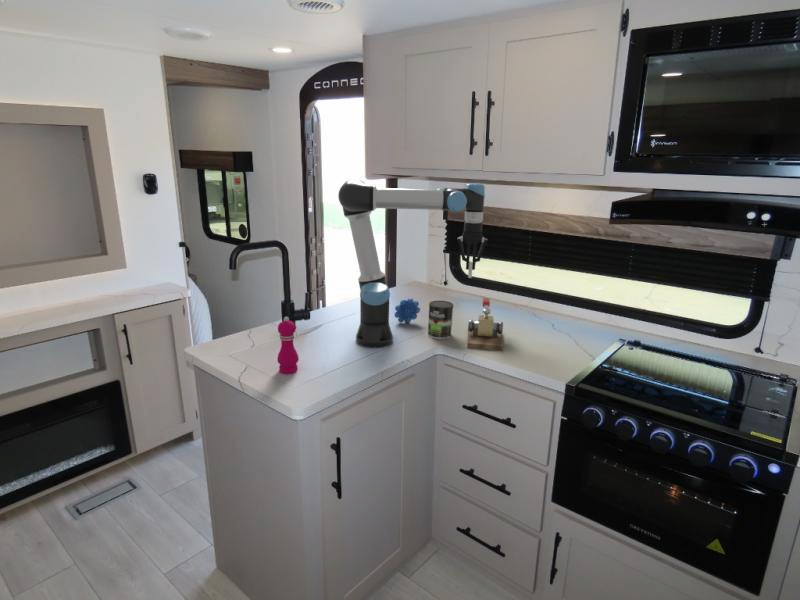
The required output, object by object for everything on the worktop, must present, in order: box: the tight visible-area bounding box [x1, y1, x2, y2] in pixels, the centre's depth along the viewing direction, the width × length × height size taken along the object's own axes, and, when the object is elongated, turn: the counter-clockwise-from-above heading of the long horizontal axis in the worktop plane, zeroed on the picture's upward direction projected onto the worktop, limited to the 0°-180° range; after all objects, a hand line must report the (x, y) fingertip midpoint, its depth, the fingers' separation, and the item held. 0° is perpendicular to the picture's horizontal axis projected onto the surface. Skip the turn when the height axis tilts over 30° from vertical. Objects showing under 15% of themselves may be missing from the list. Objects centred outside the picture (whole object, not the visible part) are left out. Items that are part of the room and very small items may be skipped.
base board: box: [466, 330, 504, 351], centre depth 204 cm, size 14×20×2 cm
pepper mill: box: [276, 316, 300, 375], centre depth 169 cm, size 7×7×20 cm
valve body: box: [467, 313, 504, 338], centre depth 203 cm, size 14×6×10 cm, turn 81°
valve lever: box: [482, 297, 492, 315], centre depth 207 cm, size 16×3×2 cm, turn 171°
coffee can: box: [427, 300, 454, 340], centre depth 207 cm, size 10×10×14 cm
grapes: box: [394, 297, 421, 324], centre depth 222 cm, size 12×7×12 cm, turn 90°
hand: (469, 276), depth 208 cm, fingers closed
